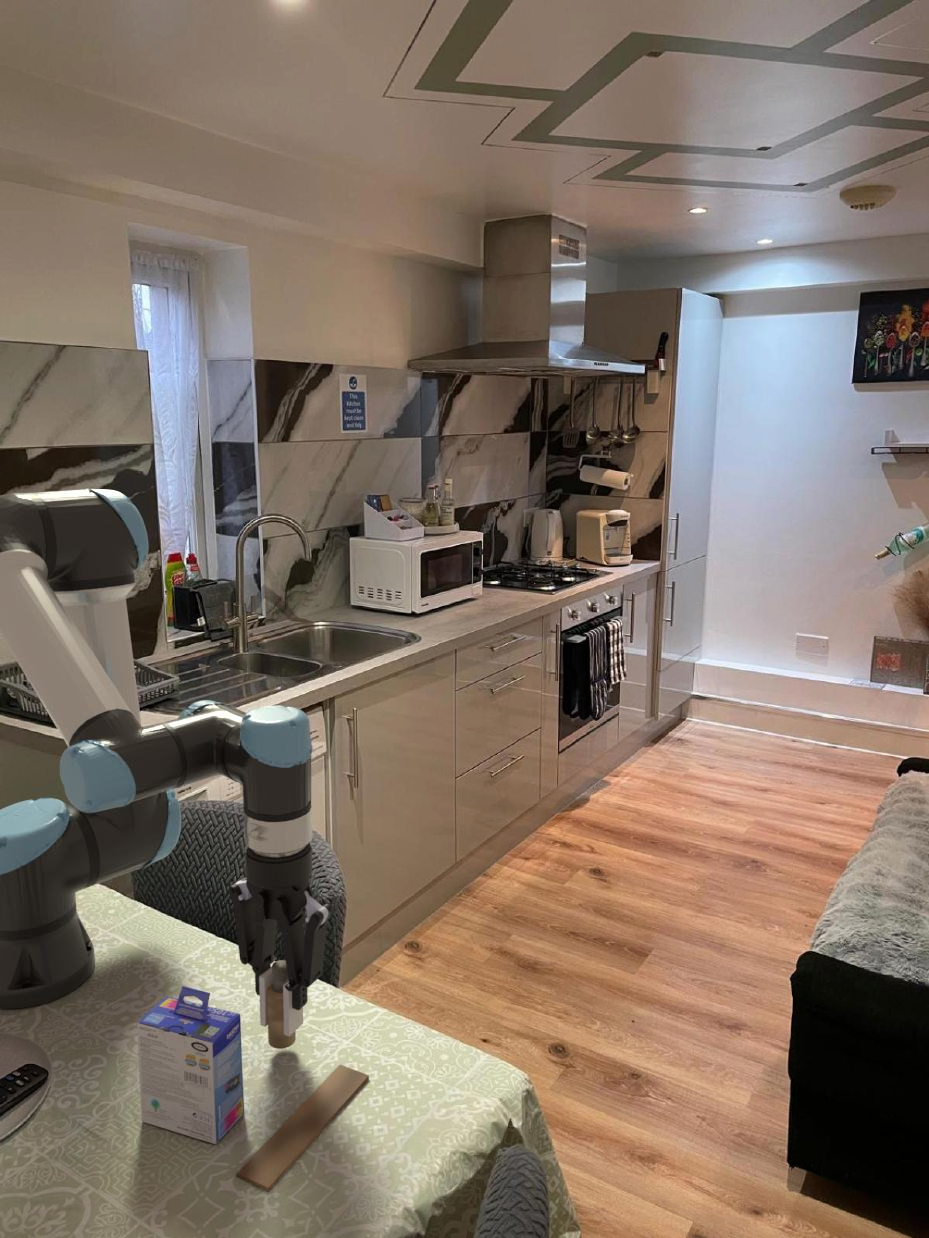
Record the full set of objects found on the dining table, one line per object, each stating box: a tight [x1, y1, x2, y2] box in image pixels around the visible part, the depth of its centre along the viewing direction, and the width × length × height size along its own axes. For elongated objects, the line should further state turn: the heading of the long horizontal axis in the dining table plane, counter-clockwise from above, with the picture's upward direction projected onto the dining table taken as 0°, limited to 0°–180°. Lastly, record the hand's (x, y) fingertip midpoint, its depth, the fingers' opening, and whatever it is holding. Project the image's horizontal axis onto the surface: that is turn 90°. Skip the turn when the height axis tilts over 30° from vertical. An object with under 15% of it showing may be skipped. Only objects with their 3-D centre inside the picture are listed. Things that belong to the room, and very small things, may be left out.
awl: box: [267, 959, 297, 1050], centre depth 109 cm, size 3×3×10 cm
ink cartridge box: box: [136, 985, 245, 1145], centre depth 99 cm, size 10×6×14 cm, turn 70°
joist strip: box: [236, 1064, 370, 1192], centre depth 99 cm, size 4×18×1 cm, turn 153°
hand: (281, 1023), depth 110 cm, fingers closed on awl, 3 cm apart
